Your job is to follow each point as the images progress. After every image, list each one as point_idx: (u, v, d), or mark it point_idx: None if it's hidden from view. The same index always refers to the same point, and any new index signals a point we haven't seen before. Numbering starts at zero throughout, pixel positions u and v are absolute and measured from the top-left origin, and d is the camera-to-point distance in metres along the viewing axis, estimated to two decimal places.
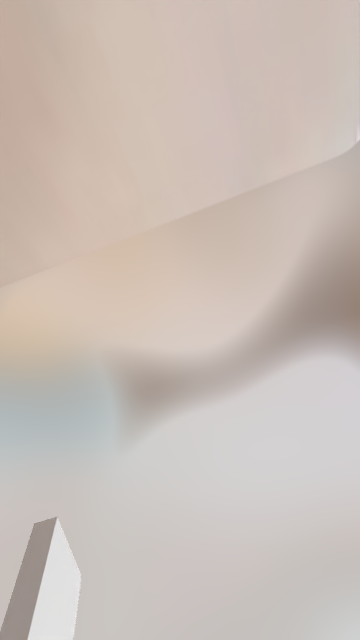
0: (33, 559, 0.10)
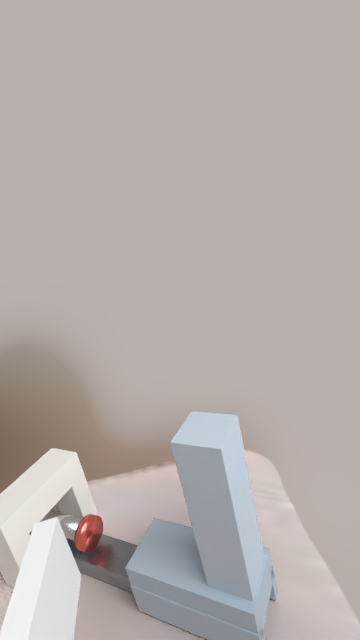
0: (33, 559, 0.10)
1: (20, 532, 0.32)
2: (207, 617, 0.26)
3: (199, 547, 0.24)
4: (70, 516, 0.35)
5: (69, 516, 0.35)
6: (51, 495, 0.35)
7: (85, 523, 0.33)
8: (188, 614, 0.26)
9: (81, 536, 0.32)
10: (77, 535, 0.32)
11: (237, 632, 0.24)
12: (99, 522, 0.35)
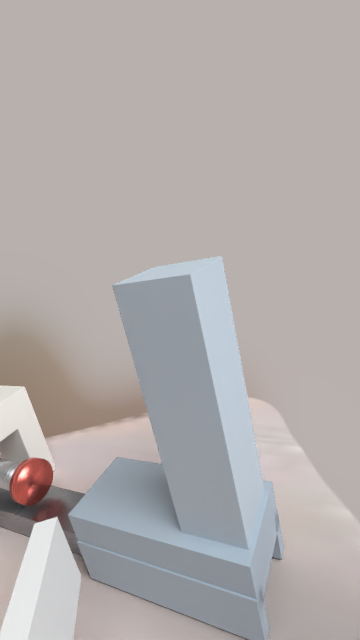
0: (33, 559, 0.10)
1: None
2: (181, 578, 0.17)
3: (166, 469, 0.16)
4: (10, 462, 0.27)
5: (9, 462, 0.27)
6: None
7: (25, 466, 0.25)
8: (154, 576, 0.18)
9: (18, 482, 0.24)
10: (13, 481, 0.24)
11: (225, 598, 0.16)
12: (48, 468, 0.26)
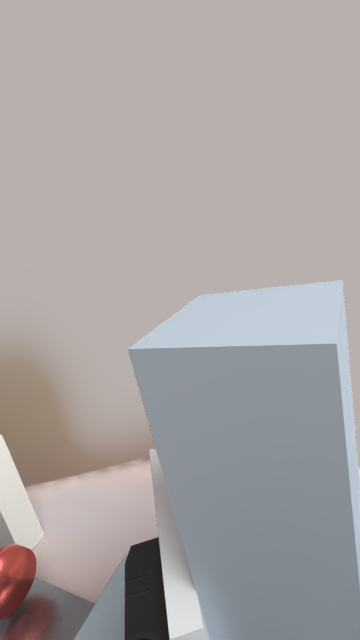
0: (160, 471, 0.12)
1: None
2: None
3: None
4: None
5: None
6: None
7: None
8: None
9: None
10: None
11: None
12: (29, 559, 0.19)
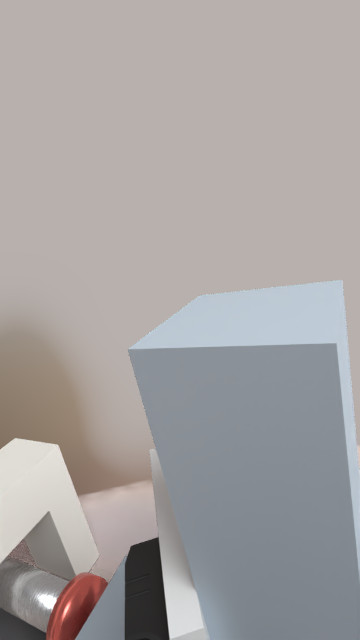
0: (160, 471, 0.12)
1: None
2: None
3: None
4: (42, 576, 0.17)
5: (40, 576, 0.17)
6: (3, 532, 0.17)
7: (71, 599, 0.15)
8: None
9: (61, 632, 0.14)
10: (52, 630, 0.14)
11: None
12: (103, 591, 0.16)
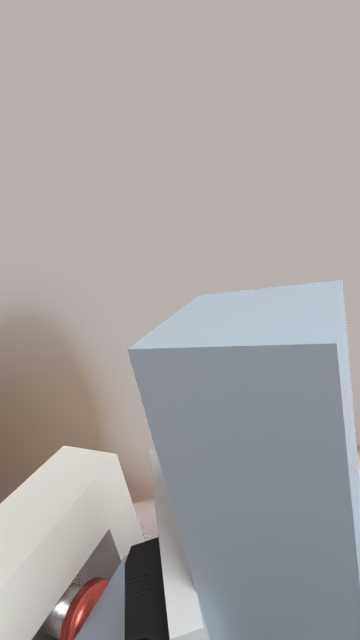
0: (160, 471, 0.12)
1: None
2: None
3: None
4: None
5: None
6: (67, 555, 0.15)
7: (85, 605, 0.14)
8: None
9: None
10: (66, 637, 0.14)
11: None
12: None
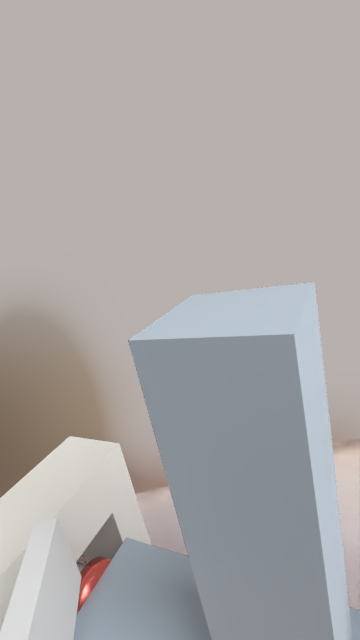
0: (33, 559, 0.10)
1: None
2: None
3: (212, 626, 0.10)
4: None
5: None
6: (73, 535, 0.16)
7: (89, 580, 0.16)
8: None
9: None
10: None
11: None
12: None
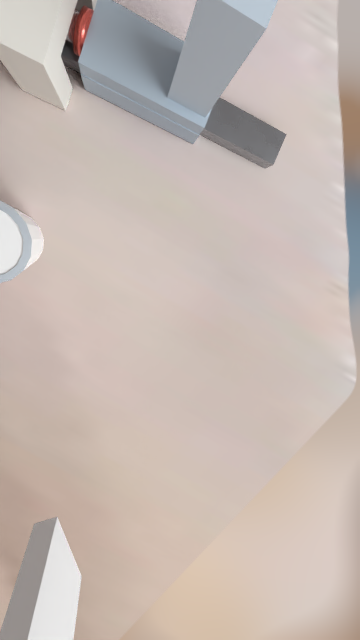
0: (33, 559, 0.10)
1: (55, 59, 0.25)
2: (158, 115, 0.30)
3: (175, 77, 0.24)
4: None
5: None
6: None
7: (85, 26, 0.25)
8: (140, 108, 0.30)
9: None
10: (77, 41, 0.26)
11: (182, 129, 0.31)
12: None
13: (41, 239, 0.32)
